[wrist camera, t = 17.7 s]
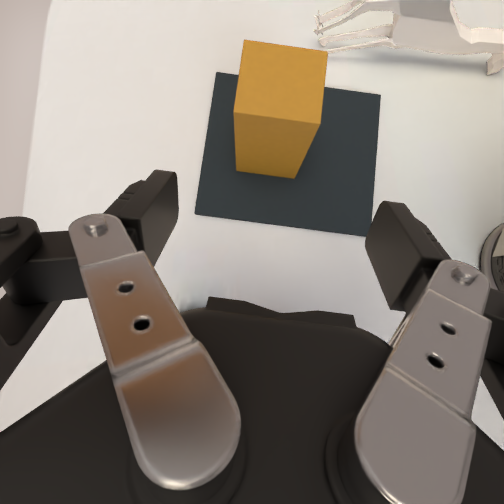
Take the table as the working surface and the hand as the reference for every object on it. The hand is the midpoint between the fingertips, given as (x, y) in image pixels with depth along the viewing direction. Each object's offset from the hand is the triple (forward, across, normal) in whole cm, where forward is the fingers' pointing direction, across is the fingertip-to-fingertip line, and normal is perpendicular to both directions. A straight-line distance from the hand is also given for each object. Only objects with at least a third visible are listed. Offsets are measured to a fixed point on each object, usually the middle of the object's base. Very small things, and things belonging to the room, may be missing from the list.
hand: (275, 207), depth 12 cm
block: (+17, 0, +3) cm, 17 cm away
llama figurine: (+26, -12, -4) cm, 29 cm away
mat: (+17, -2, +4) cm, 18 cm away
